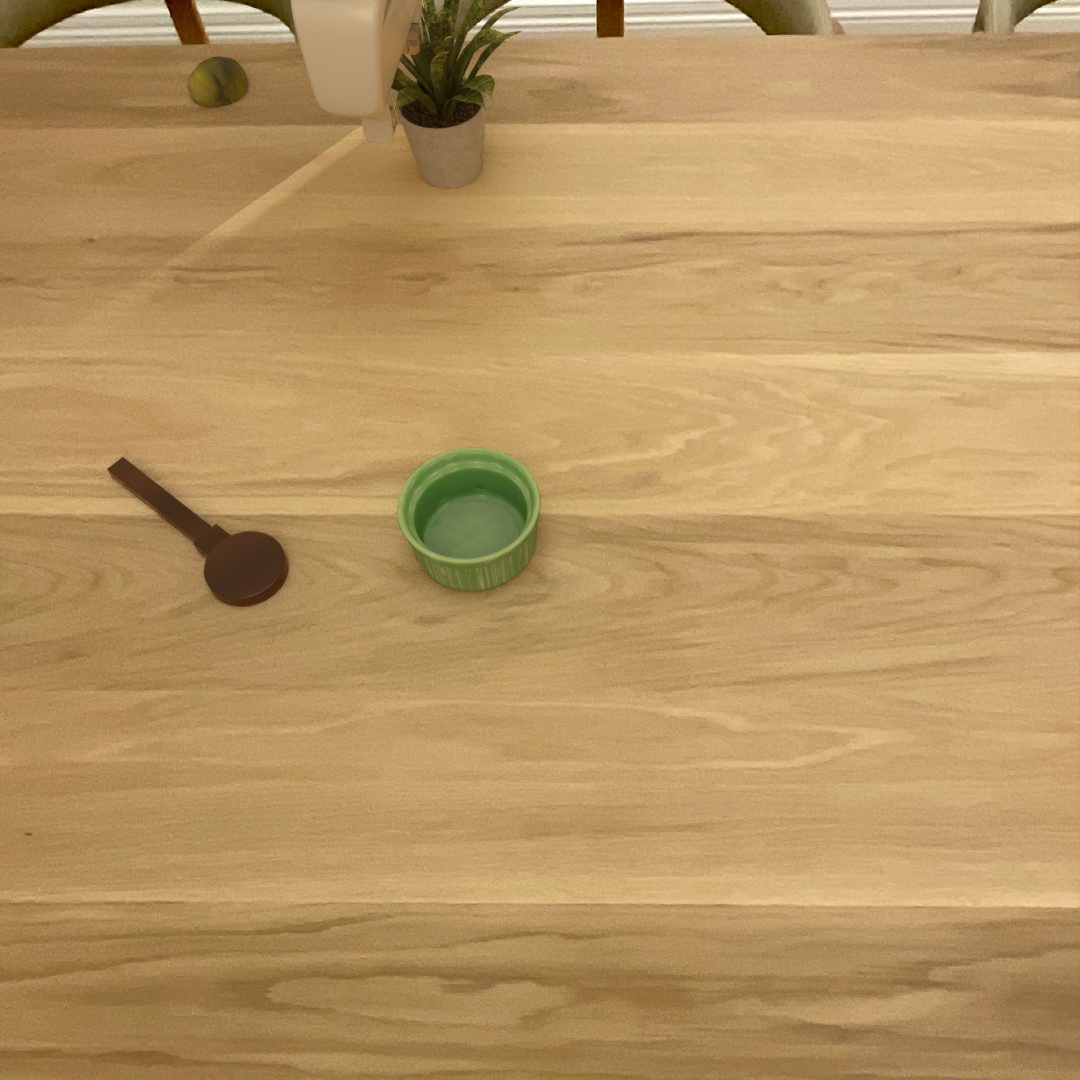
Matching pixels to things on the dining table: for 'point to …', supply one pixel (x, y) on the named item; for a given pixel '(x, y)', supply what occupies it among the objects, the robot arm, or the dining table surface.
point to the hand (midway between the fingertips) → (396, 91)
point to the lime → (217, 82)
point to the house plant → (447, 95)
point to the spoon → (215, 544)
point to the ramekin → (471, 517)
